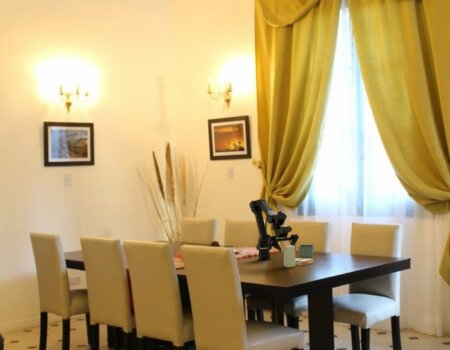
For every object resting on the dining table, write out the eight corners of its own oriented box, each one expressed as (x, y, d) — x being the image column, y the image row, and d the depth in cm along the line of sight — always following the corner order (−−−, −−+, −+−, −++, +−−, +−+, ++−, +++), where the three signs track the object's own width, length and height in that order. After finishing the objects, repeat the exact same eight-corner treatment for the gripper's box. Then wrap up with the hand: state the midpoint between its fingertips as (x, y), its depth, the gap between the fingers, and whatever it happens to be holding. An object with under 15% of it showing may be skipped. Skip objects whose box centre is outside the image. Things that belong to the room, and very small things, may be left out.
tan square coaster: (287, 265, 374) (287, 260, 374) (297, 262, 383) (297, 257, 383) (304, 266, 367) (304, 261, 367) (313, 263, 376) (313, 258, 376)
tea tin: (283, 266, 368) (283, 245, 368) (291, 265, 370) (290, 245, 370) (287, 267, 363) (287, 246, 363) (295, 266, 365) (295, 245, 365)
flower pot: (313, 261, 384) (313, 246, 384) (299, 261, 386) (298, 246, 386) (314, 259, 393) (313, 244, 393) (300, 259, 395) (299, 244, 395)
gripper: (268, 222, 369) (277, 242, 359) (296, 220, 376) (306, 240, 366) (263, 235, 377) (272, 255, 366) (291, 232, 384) (300, 252, 373)
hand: (288, 250), depth 368 cm, fingers open, 9 cm apart
